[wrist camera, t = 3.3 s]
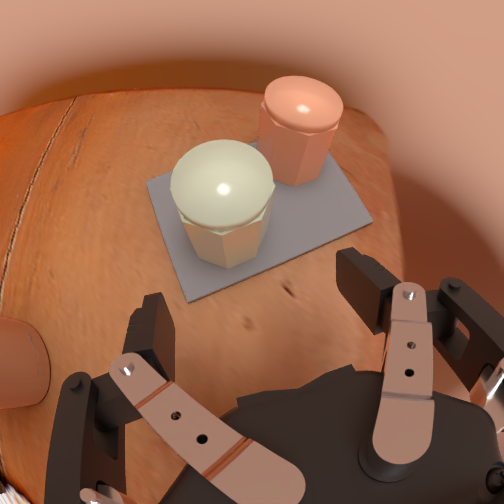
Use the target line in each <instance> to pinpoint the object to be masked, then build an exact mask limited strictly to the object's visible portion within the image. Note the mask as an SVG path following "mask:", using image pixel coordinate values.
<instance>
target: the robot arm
mask: <svg viewBox="0 0 504 504" xmlns="http://www.w3.org/2000/svg"><path fill="white" fill-rule="evenodd" d="M336 283H337V287H338V289H339V291H340V293H341V294H342V295H343V296H344V298H345V299H346V300H347V301H348V303H349V304H350V305H351V306H352V308H353V309H354V310H355V311H356V313H357V314H358V315H359V316H360V318H361V319H362V320H363V321H364V323H365V324H366V325H367V326H368V328H369V329H370V330H371V332H372V333H373V334H374V335H376V334H379V333H381V332H384V333H385V334H386V335H385V340H384V346H383V353H382V359H381V365H380V370H379V372H376V371H355V369H354V367H353V366H352V364H350V365H347V366H345V367H342V368H339V369H336V370H333V371H330V372H328V373H325V374H323V375H322V376H320V377H318V378H316V379H315V380H313V381H311V382H310V383H308V384H306V385H304V386H303V387H301V388H298V389H289V390H274V391H264V392H260V393H256V394H252V395H247V396H243V397H239V398H237V403H238V407H236V408H233V409H232V410H230V411H228V412H227V413H225V414H224V415H223V416H221V417H220V418H219V419H218V418H217V417H216V416H214V415H213V414H212V413H210V412H209V411H208V410H207V409H205V408H204V407H203V406H202V405H200V404H199V403H198V402H197V401H195V400H194V399H193V398H192V397H190V396H189V395H188V394H187V393H186V392H185V391H183V390H182V389H181V388H180V387H179V386H178V385H176V384H175V327H174V323H173V320H172V317H171V315H170V312H169V310H168V307H167V305H166V302H165V299H164V297H163V295H162V293H161V292H159V293H154V294H149V295H145V296H144V300H143V305H142V308H137V309H136V310H135V311H134V312H133V314H132V315H131V316H130V320H129V326H128V329H127V333H126V338H125V342H124V347H123V352H122V355H120V356H119V357H117V358H116V359H115V360H114V361H113V362H112V363H111V365H110V368H109V372H108V373H106V374H104V375H101V376H99V377H96V378H94V379H91V377H90V376H89V375H88V374H87V373H85V372H76V373H74V374H72V375H70V376H69V377H68V378H67V379H66V380H65V381H64V383H63V385H62V388H61V392H60V396H59V401H58V405H57V410H56V414H55V419H54V424H53V430H52V435H51V441H50V448H49V455H48V463H47V472H46V482H45V498H44V504H137V503H136V502H135V501H134V500H133V499H132V498H130V497H128V496H127V494H126V477H125V424H127V423H130V422H133V421H135V420H138V419H140V418H143V419H144V420H145V421H146V422H147V423H148V424H149V425H150V426H151V428H152V429H153V430H154V431H155V432H156V433H157V434H158V435H159V436H160V437H161V438H162V439H163V440H164V441H165V442H166V443H167V445H168V446H169V447H170V448H171V449H172V450H173V451H174V452H175V453H176V454H177V455H178V456H179V457H180V458H182V459H183V460H184V461H185V462H186V463H187V464H186V466H185V467H184V469H183V470H182V471H181V473H180V474H179V476H178V477H177V479H176V480H175V481H174V483H173V484H172V486H171V487H170V488H169V490H168V491H167V492H166V494H165V495H164V497H163V498H162V499H161V501H160V502H159V503H158V504H504V462H503V460H502V457H501V454H500V451H499V447H498V441H497V434H498V433H499V432H504V317H503V316H501V315H500V314H499V313H498V312H497V311H496V310H495V309H494V308H493V307H492V306H491V305H490V304H489V303H487V302H486V301H485V300H484V299H483V298H482V297H481V296H480V295H479V294H477V293H476V292H475V291H474V290H473V289H471V288H470V287H469V286H468V285H467V284H466V283H465V282H463V281H462V280H460V279H457V278H451V277H449V278H445V279H443V280H442V281H441V282H440V285H439V289H438V290H430V291H424V289H423V288H422V287H421V286H419V285H418V284H415V283H411V282H403V283H402V282H401V281H399V280H398V279H397V278H396V277H395V276H394V275H393V274H391V273H390V272H389V271H388V270H387V269H385V267H383V266H382V265H380V263H379V262H378V261H376V260H375V259H374V258H372V257H369V256H367V255H362V254H360V253H359V252H358V251H357V250H356V249H355V248H353V247H350V248H346V249H343V250H339V251H337V253H336ZM459 320H460V321H461V322H462V323H463V324H464V325H465V327H466V328H467V329H468V331H469V333H470V338H469V340H468V339H467V337H466V336H465V335H464V334H463V333H462V332H461V331H460V330H459V329H458V328H457V325H458V322H459ZM433 345H434V347H435V348H436V349H437V350H438V352H439V353H440V354H441V355H442V357H443V358H444V359H445V360H446V362H447V363H448V364H449V366H450V367H451V368H452V369H453V371H454V372H455V373H456V375H457V376H458V377H459V378H460V380H461V382H462V383H463V384H464V385H465V387H466V388H467V390H468V391H469V393H470V401H471V403H470V402H467V401H464V400H460V399H457V398H454V397H451V396H448V395H445V394H442V393H439V392H436V391H433V390H432V382H433ZM49 382H50V365H49V359H48V354H47V351H46V348H45V345H44V343H43V341H42V339H41V337H40V336H39V334H38V333H37V331H36V330H35V329H34V328H33V327H32V326H31V325H29V324H27V323H25V322H22V321H18V320H14V319H10V318H6V317H3V316H0V409H9V408H17V407H23V406H30V405H34V404H37V403H39V402H40V401H41V400H42V399H43V398H44V396H45V395H46V392H47V390H48V386H49Z"/></svg>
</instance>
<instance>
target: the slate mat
mask: <svg viewBox="0 0 504 504" xmlns="http://www.w3.org/2000/svg"><path fill="white" fill-rule="evenodd" d="M247 145H250V146H252V147H253V148H255V149H256V150H257V147H258V141H256V142H252V143H249V144H247ZM172 173H173V171H170V172H168V173H165V174H163V175H160V176H158V177H156V178H153V179H151V180H148V181H146V185H147V188H148V191H149V195H150V198H151V201H152V204H153V207H154V211H155V214H156V217H157V220H158V223H159V226H160V229H161V232H162V235H163V238H164V241H165V244H166V246H167V249H168V252H169V255H170V258H171V261H172V263H173V266H174V269H175V271H176V274H177V277H178V279H179V282H180V285H181V287H182V290H183V293H184V295H185V298H186V300H187V303H191V302H194V301H196V300H198V299H201V298H203V297H206V296H208V295H210V294H213V293H215V292H218V291H220V290H222V289H225V288H227V287H229V286H232V285H234V284H236V283H239V282H241V281H243V280H246V279H248V278H250V277H253V276H255V275H257V274H260V273H262V272H264V271H267V270H269V269H271V268H274V267H276V266H278V265H280V264H283V263H285V262H287V261H289V260H292V259H294V258H296V257H299V256H301V255H303V254H305V253H308V252H310V251H312V250H314V249H316V248H319V247H321V246H323V245H325V244H328V243H330V242H332V241H334V240H336V239H339V238H341V237H343V236H345V235H347V234H350V233H352V232H354V231H356V230H358V229H360V228H363V227H365V226H367V225H369V224H371V223H372V222H373V219H372V217H371V216H370V214H369V212H368V211H367V209H366V207H365V206H364V204H363V203H362V201H361V199H360V198H359V196H358V195H357V193H356V192H355V190H354V188H353V187H352V185H351V184H350V182H349V181H348V179H347V178H346V176H345V175H344V173H343V172H342V170H341V169H340V167H339V166H338V165H337V163H336V162H335V160H334V159H333V157H332V156H331V155H330V153H329V152H328V153H327V155H326V158H325V160H324V163H323V165H322V168H321V170H320V173H319V175H318V177H317V179H315V180H312V181H309V182H307V183H304V184H301V185H298V186H295V187H293V186H290V185H287V184H284V183H281V182H278V181H275V180H273V182H274V184H275V191H274V196H273V201H272V206H271V211H270V216H269V221H268V226H267V230H266V233H265V235H264V238H263V240H262V243H261V246H260V248H259V251H258V253H257V256H256V257H255V258H253V259H251V260H248V261H246V262H244V263H241V264H239V265H236V266H234V267H232V268H229V269H225V268H222V267H220V266H217V265H215V264H212V263H209V262H207V261H204V260H202V259H199V258H198V256H197V254H196V252H195V249H194V247H193V245H192V243H191V241H190V238H189V236H188V234H187V232H186V230H185V227H184V225H183V223H182V220H181V217H180V214H179V212H178V209H177V206H176V204H175V201H174V199H173V197H172V193H171V190H170V188H171V186H170V184H171V176H172Z"/></svg>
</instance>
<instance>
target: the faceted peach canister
mask: <svg viewBox="0 0 504 504" xmlns="http://www.w3.org/2000/svg"><path fill="white" fill-rule="evenodd" d="M342 111H343V103H342V100H341V98H340V97H339V95H338V94H337V93H336V92H335V91H334V90H333V89H332V88H331V87H329V86H328V85H326V84H324V83H322V82H320V81H318V80H315V79H312V78H308V77H303V76H287V77H282V78H279V79H276V80H274V81H273V82H271V83H270V84H269V85H268V87H267V88H266V91H265V99H264V100H263V102H262V104H261V109H260V122H259V134H258V147H257V150H258V151H259V152H260V153H261V154H262V155H263V156H264V157H265V159H266V160H267V161H268V163H269V165H270V168H271V171H272V176H273V180H275V181H278V182H281V183H284V184H287V185H290V186H293V187H295V186H298V185H301V184H304V183H307V182H309V181H312V180H315V179H317V177H318V175H319V173H320V170H321V168H322V165H323V163H324V160H325V158H326V155H327V153H328V151H329V148H330V146H331V143H332V141H333V138H334V136H335V133H336V130H337V127H338V123H339V119H340V117H341V114H342Z"/></svg>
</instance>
